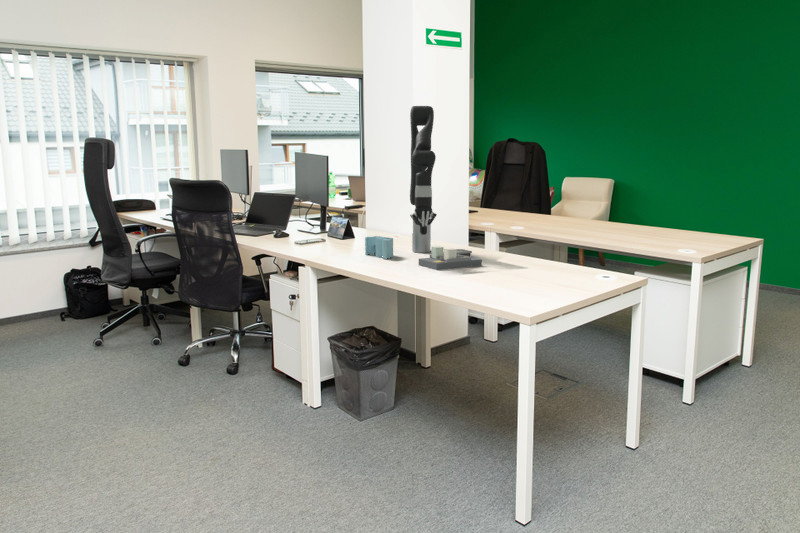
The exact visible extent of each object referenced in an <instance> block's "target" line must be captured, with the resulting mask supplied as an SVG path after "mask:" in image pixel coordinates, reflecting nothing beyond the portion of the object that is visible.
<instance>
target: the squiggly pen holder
mask: <svg viewBox="0 0 800 533" xmlns="http://www.w3.org/2000/svg"><path fill="white" fill-rule="evenodd" d="M364 250H365V251H364V255H365V256H369V255H368V254H371V255H374V253H375V258H382V259H383V260H388V259H387V258H389V259H391V258H390V257H393V258H394V238H393V237H387V236H380V235H379V236H378V235H375V236H374V235H373V236H365V237H364ZM382 256H383V257H382Z"/></svg>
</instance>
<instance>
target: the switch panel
mask: <svg viewBox="0 0 800 533" xmlns="http://www.w3.org/2000/svg"><path fill="white" fill-rule="evenodd" d="M431 257H432V253H431V254H429V257H425V258H424V257H423V258H418V266H420V267H425V268H428V269H431V270H433V271H434V270H435V271H441V270H443V271H445V270H452V269H453V270H454V269H463V268H464V269H465V268H473V267H482V266H483V259H482V258H478V257H477V258H476V257H473V256H470V257H469V256H464V255H460V254H457V255H456V258H449V259H447V261H446V260H444V255H443V256H436V259H435V258H431Z"/></svg>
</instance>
